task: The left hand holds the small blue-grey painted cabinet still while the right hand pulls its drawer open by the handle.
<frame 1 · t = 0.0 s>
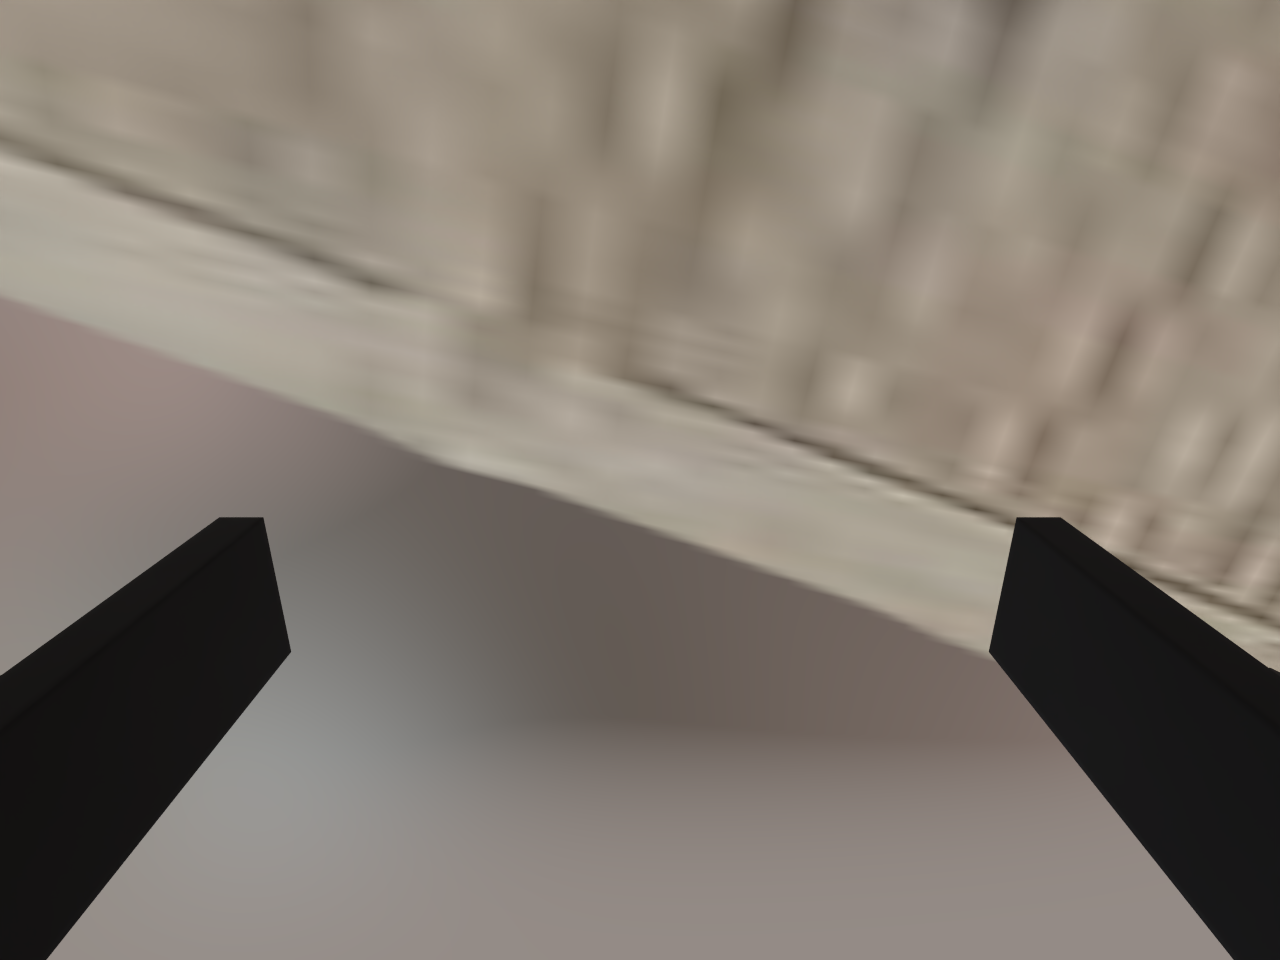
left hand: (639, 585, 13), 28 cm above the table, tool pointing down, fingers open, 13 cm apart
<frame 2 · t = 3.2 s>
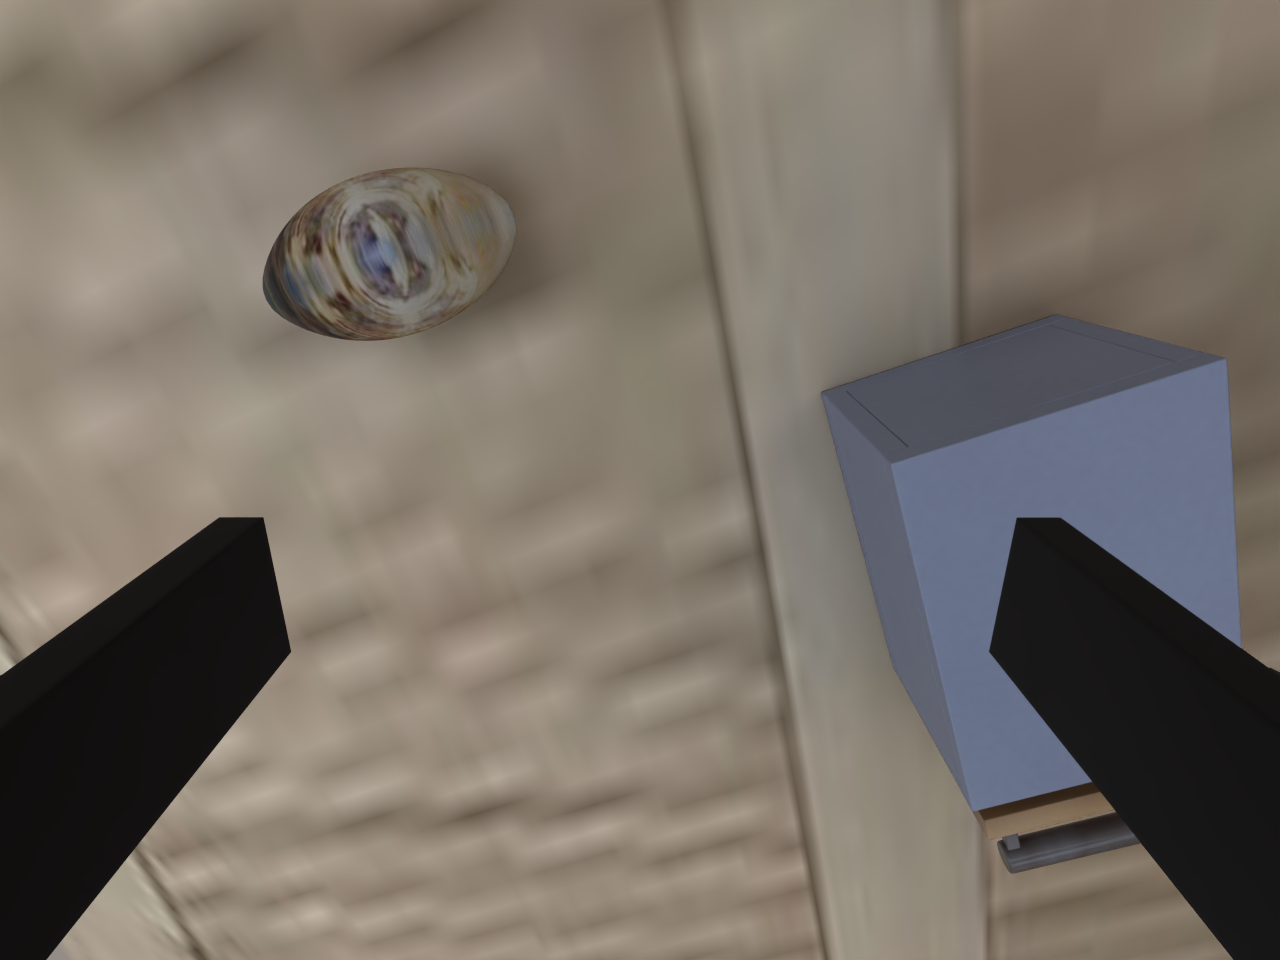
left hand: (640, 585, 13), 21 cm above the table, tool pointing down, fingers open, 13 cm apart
seashell: (422, 251, 30), on the table
cabinet: (967, 508, 34), on the table
drawer: (1036, 668, 32), point 5 cm above the table, slide at 1.8 cm
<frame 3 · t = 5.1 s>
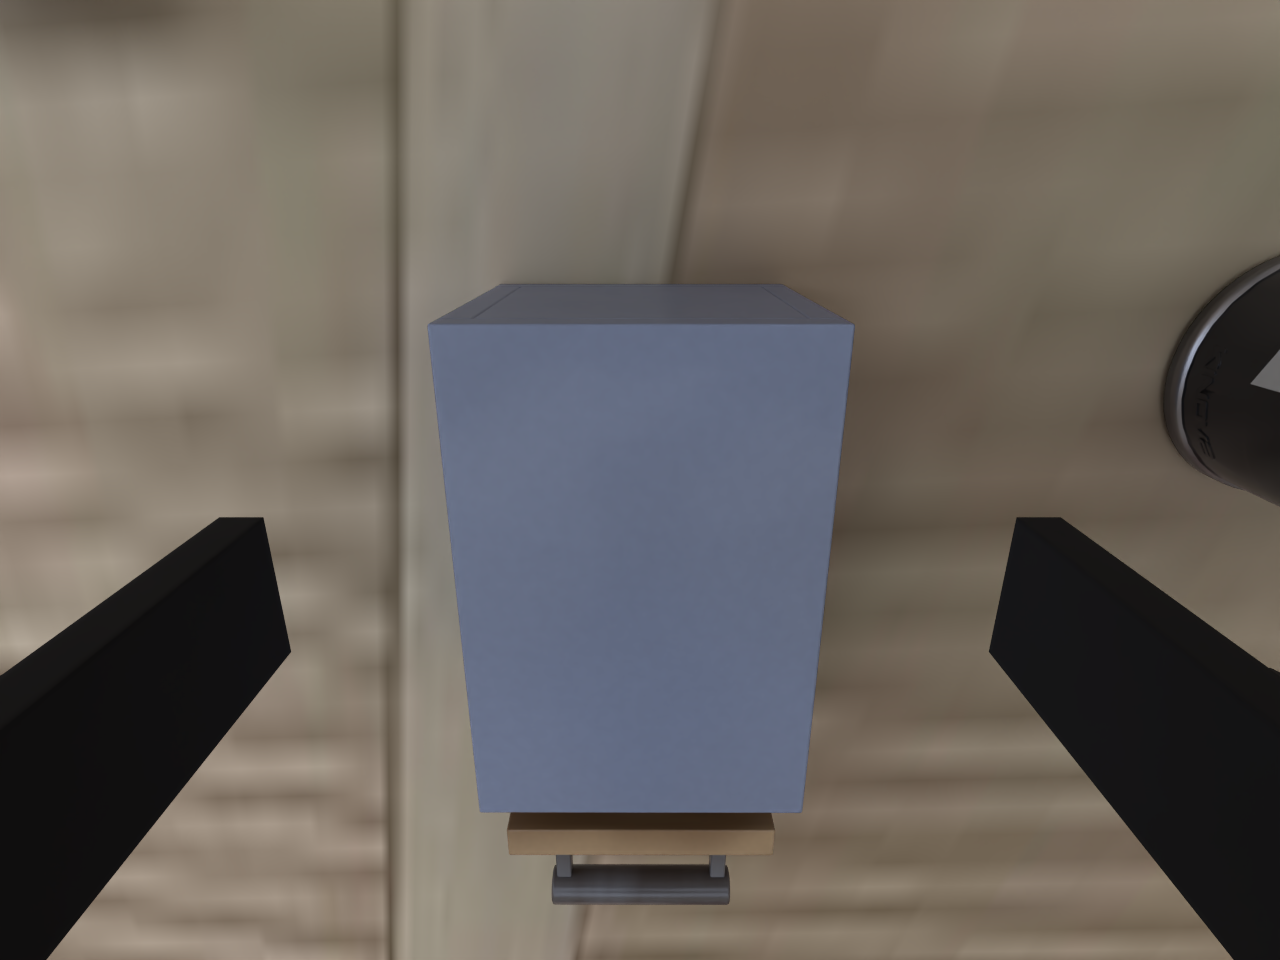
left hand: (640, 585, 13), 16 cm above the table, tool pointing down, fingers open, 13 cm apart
cabinet: (641, 481, 29), on the table
drawer: (640, 676, 27), point 5 cm above the table, slide at 1.8 cm
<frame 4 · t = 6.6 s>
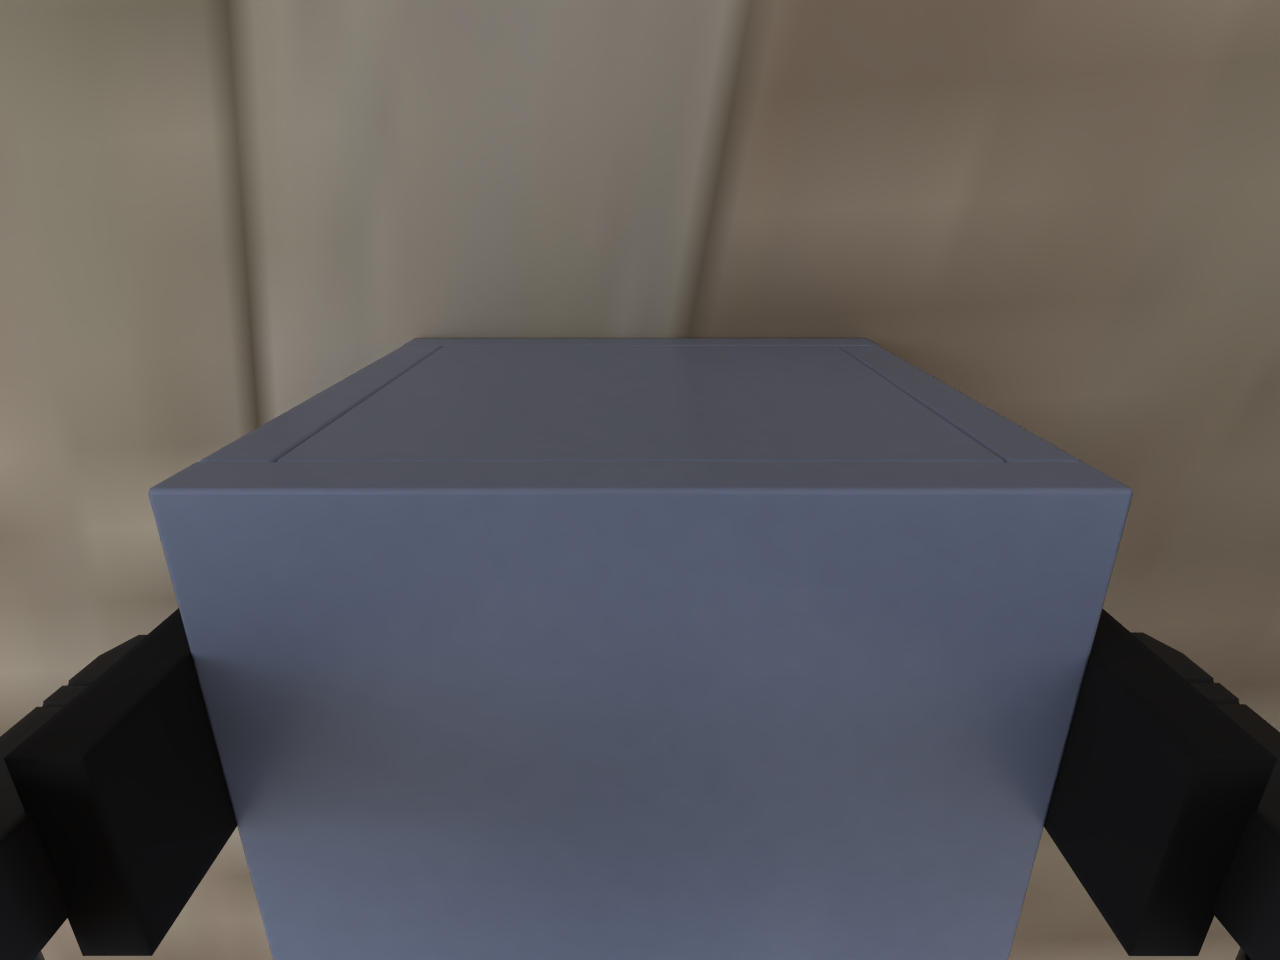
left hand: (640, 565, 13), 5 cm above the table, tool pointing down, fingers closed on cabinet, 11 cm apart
cabinet: (640, 629, 19), on the table, touching left hand
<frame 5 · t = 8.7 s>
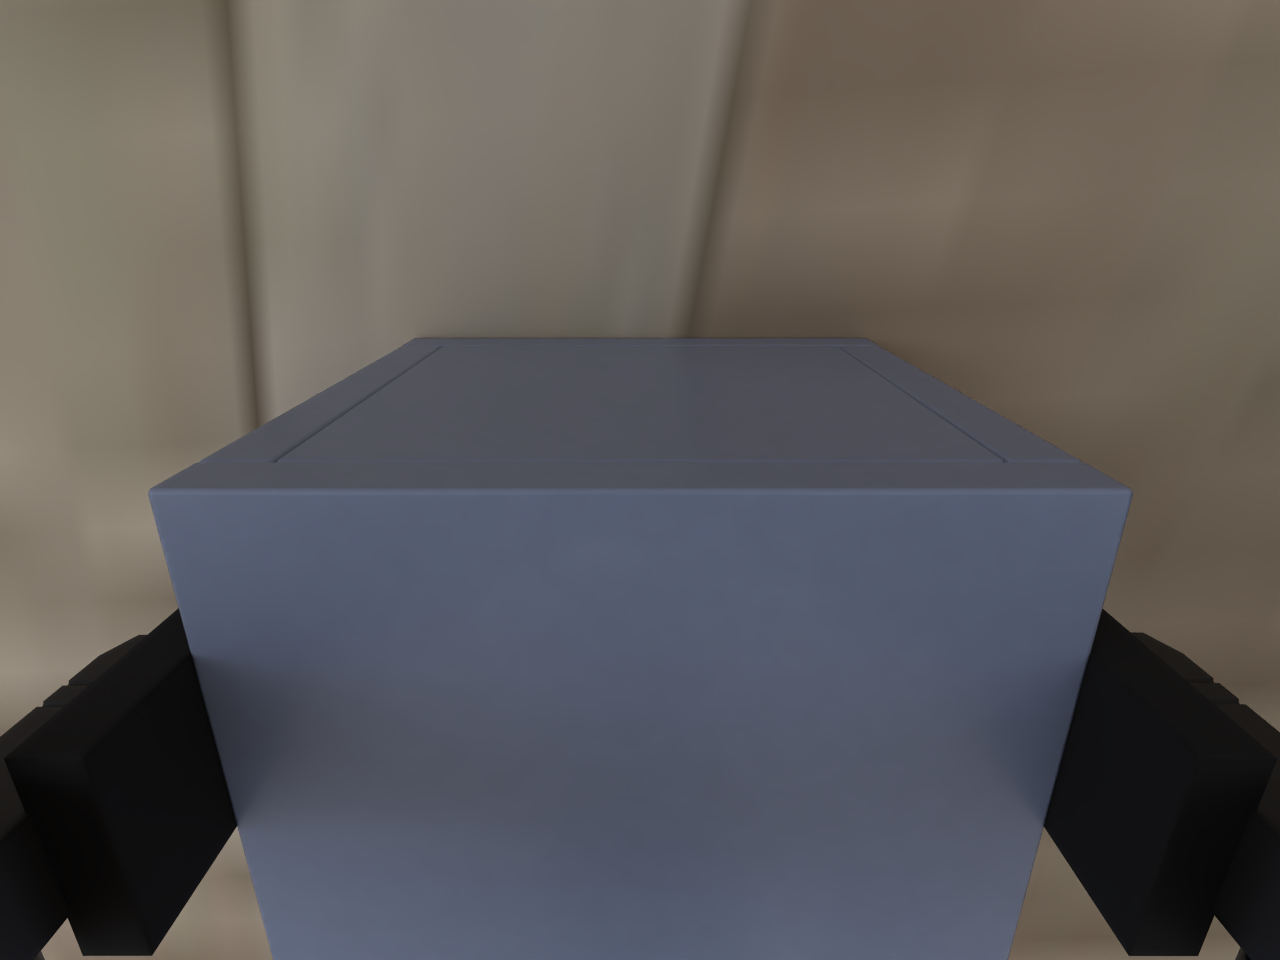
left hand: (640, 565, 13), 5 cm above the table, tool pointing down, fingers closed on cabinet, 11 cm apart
cabinet: (640, 629, 19), on the table, touching left hand
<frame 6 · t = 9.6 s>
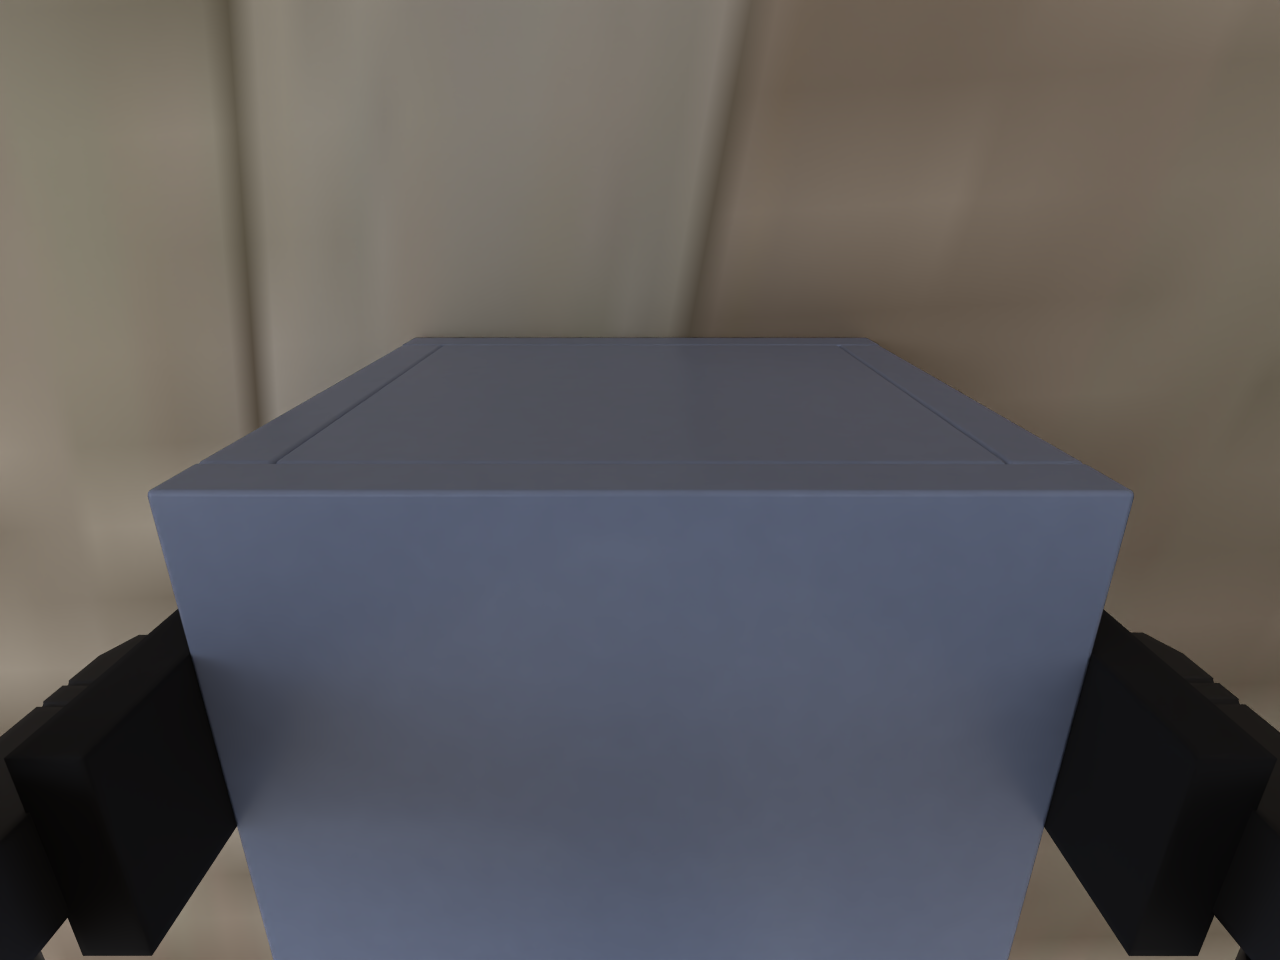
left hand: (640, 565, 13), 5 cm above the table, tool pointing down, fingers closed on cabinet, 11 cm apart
cabinet: (640, 628, 19), on the table, touching left hand
when the left hand's fingers open (5 cm above the table, at t = 11.5 s): cabinet stays where it is, on the table.
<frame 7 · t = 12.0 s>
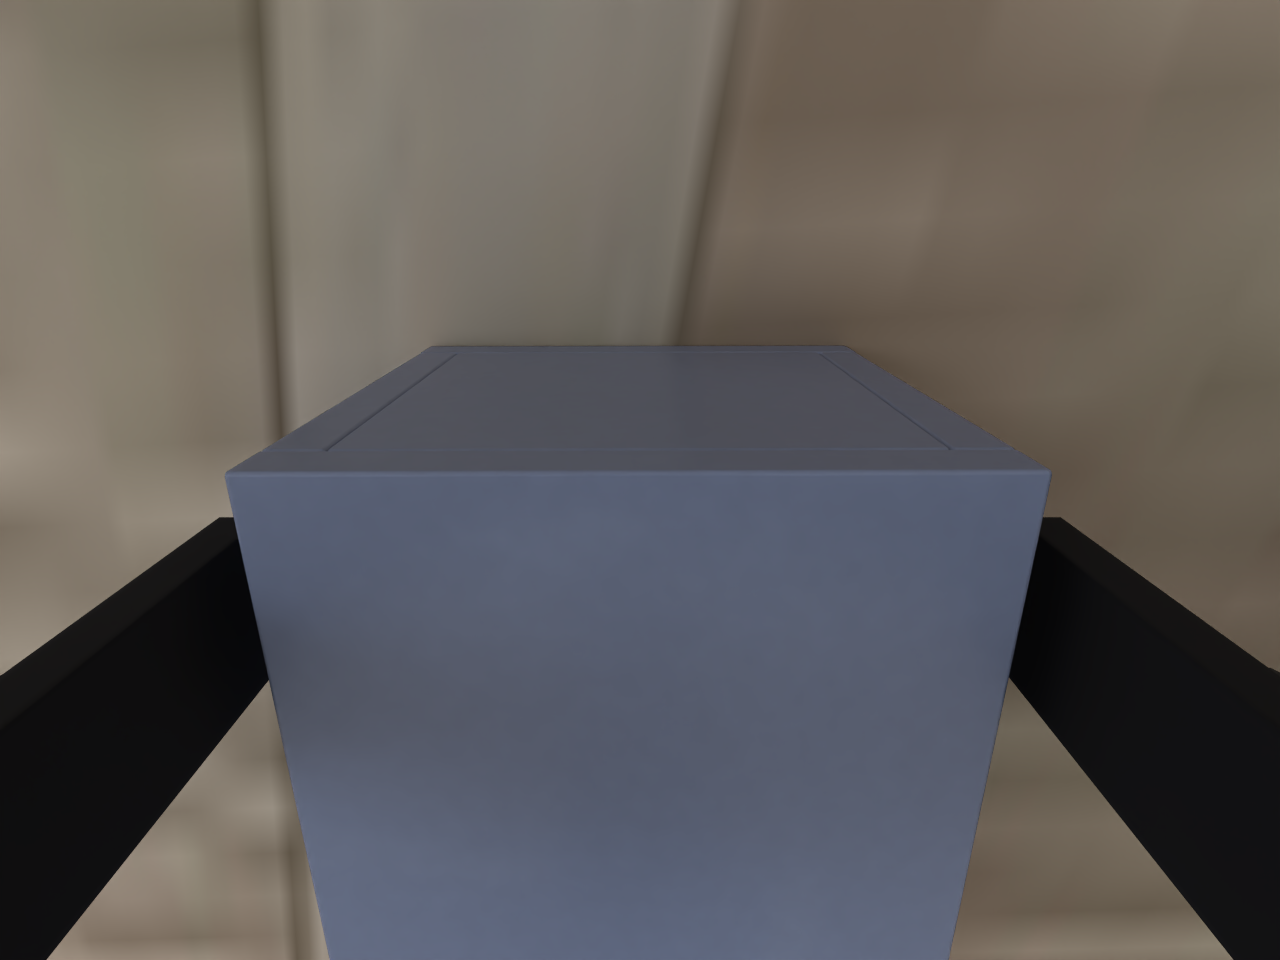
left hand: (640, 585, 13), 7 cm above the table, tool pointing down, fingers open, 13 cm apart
cabinet: (638, 616, 21), on the table
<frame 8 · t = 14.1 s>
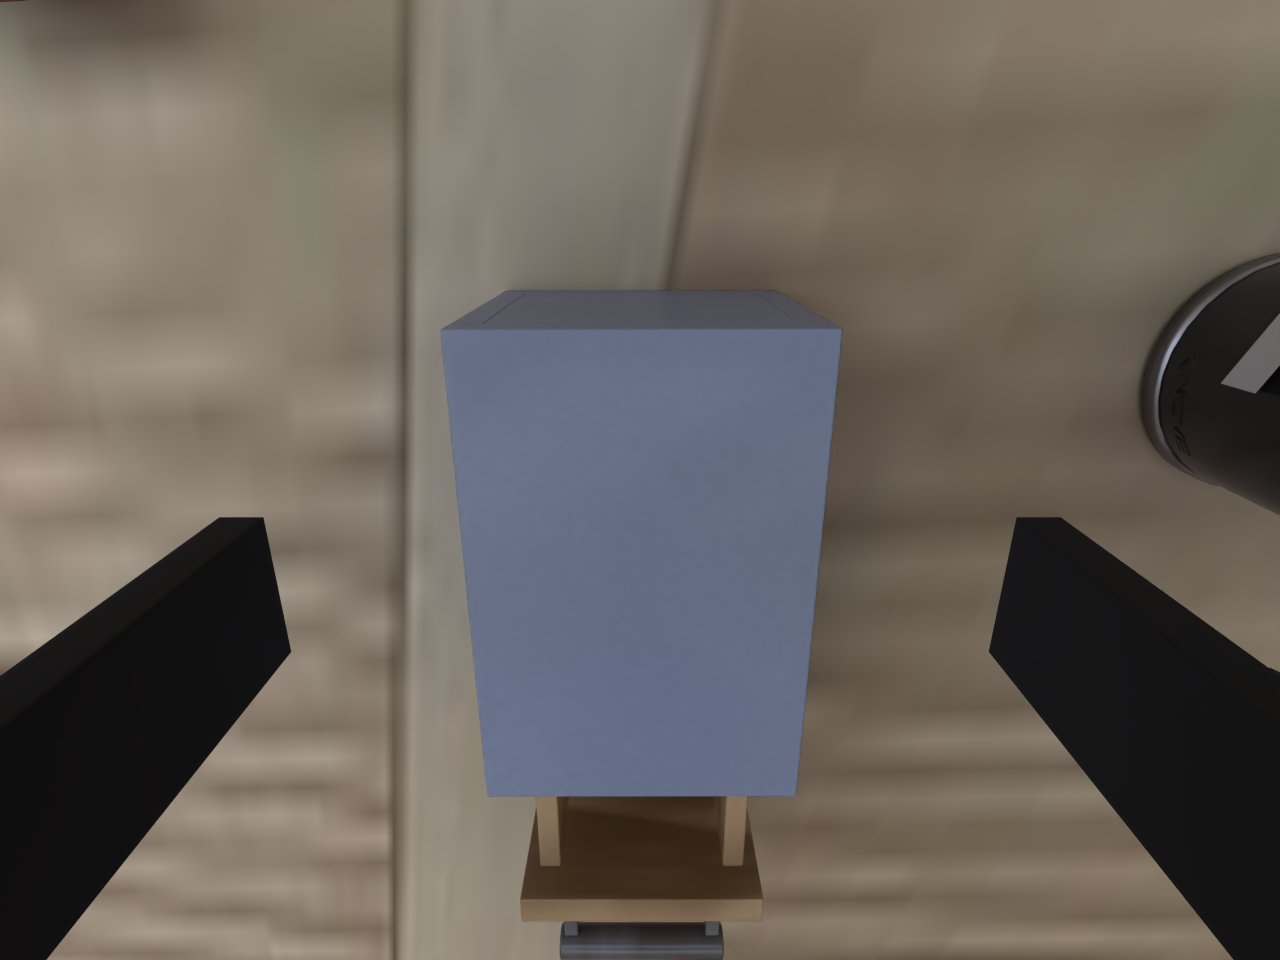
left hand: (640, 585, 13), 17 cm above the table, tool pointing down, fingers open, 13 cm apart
cabinet: (641, 480, 30), on the table
drawer: (641, 754, 30), point 5 cm above the table, slide at 6.1 cm
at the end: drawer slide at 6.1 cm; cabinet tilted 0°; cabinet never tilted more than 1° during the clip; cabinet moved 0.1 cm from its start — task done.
